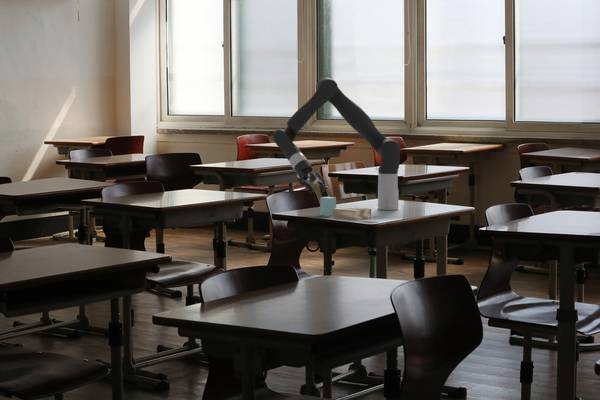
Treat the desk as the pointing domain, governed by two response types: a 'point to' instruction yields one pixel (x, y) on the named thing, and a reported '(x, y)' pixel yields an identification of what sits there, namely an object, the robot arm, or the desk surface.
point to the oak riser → (352, 213)
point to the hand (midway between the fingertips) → (318, 190)
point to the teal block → (327, 205)
